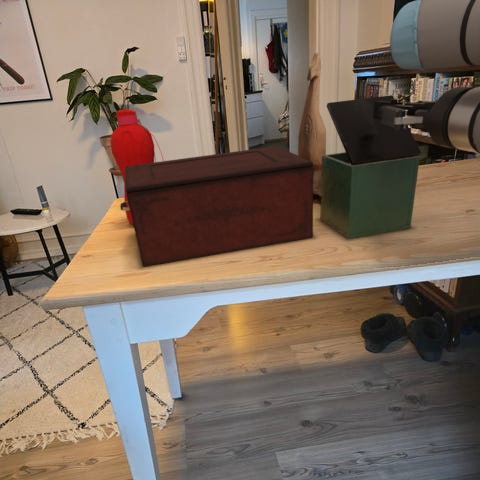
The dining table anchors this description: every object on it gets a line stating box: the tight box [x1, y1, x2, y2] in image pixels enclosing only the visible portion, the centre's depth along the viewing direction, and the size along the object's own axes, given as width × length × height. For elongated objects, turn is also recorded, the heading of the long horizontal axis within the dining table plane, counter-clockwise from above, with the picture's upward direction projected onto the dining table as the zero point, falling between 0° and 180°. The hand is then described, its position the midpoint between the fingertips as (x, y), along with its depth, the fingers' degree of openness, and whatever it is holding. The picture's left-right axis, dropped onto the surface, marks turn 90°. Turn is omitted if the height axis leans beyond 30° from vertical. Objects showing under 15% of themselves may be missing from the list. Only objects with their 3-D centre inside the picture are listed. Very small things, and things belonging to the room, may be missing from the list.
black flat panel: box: [326, 94, 422, 166], centre depth 77 cm, size 15×14×1 cm
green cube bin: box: [320, 151, 421, 240], centre depth 84 cm, size 14×14×14 cm
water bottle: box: [109, 108, 165, 226], centre depth 96 cm, size 9×11×25 cm
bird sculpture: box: [297, 52, 327, 197], centre depth 100 cm, size 11×12×32 cm
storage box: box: [119, 145, 314, 267], centre depth 86 cm, size 39×23×15 cm, turn 104°
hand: (377, 109), depth 74 cm, fingers closed
